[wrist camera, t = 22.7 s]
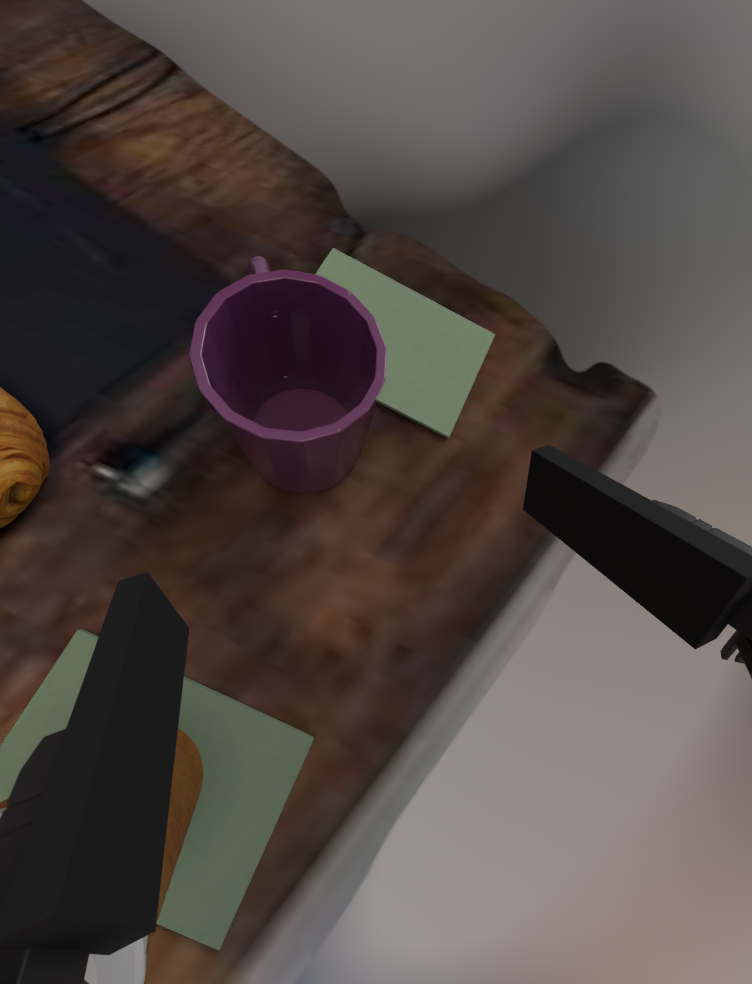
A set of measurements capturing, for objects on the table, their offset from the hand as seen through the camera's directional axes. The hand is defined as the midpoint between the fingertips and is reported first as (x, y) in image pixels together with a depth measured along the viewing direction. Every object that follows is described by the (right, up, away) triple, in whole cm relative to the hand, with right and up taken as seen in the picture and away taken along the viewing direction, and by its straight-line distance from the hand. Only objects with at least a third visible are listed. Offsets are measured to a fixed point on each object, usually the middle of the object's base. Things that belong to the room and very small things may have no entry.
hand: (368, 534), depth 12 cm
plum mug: (-6, +7, +15) cm, 17 cm away
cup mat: (-13, -15, +8) cm, 22 cm away
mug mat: (+1, +14, +17) cm, 22 cm away
